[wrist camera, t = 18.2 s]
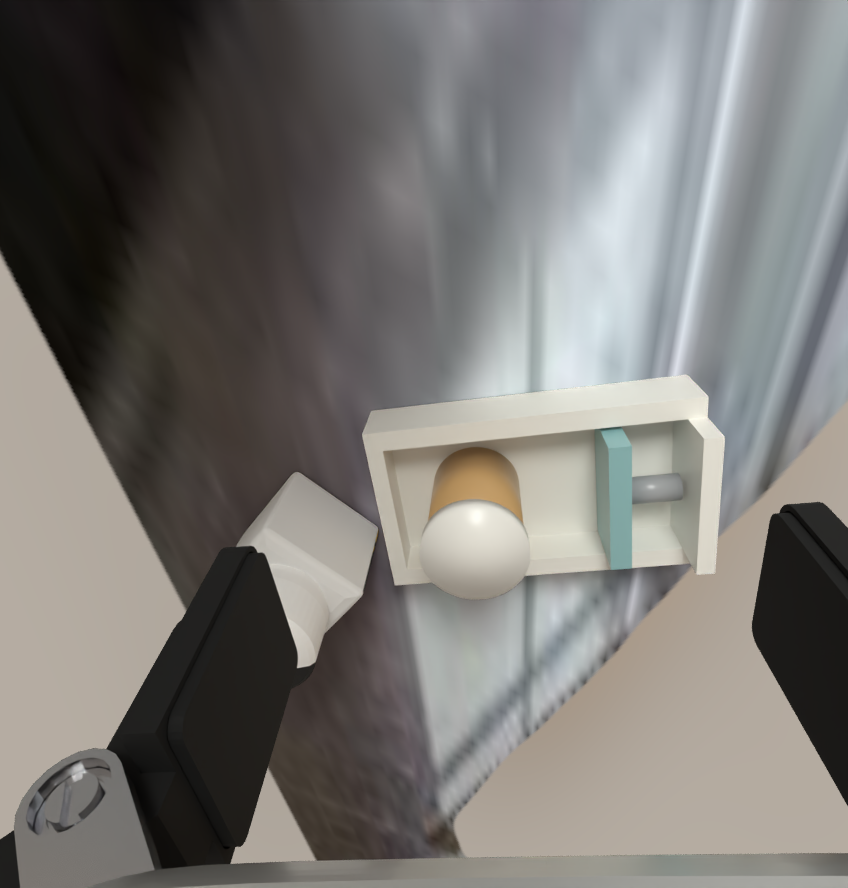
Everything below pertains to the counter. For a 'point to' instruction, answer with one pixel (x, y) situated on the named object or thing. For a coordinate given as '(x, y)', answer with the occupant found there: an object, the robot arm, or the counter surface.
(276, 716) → the robot arm
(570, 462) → the lane
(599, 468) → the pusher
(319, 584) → the medicine bottle
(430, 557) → the jar
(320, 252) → the counter surface
